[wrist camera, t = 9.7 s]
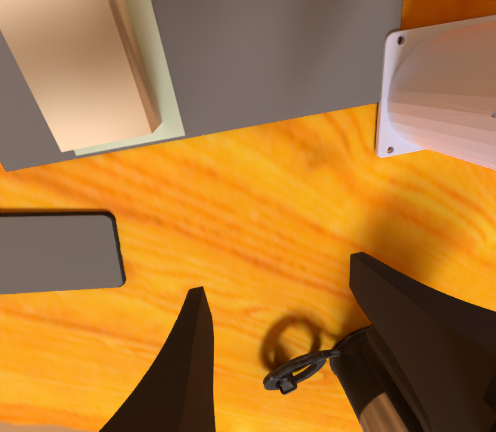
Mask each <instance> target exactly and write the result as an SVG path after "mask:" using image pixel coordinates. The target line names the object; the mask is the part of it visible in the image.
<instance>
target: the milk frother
mask: <svg viewBox="0 0 496 432" xmlns="http://www.w3.org/2000/svg"><path fill="white" fill-rule="evenodd" d="M330 357H331V359H330V366H331V369H332V371H333V372H334V374H335V375H337V377H338V379H339V381H340V383H341V385H342V387H343V389H344V391H345V393H346V395H347V397H348V399H349V401H350V403H351V406H352V408H353V410H354V412H355V414H356V416H357V418H358V421H359V423H360V424H361V427H362V429H363V432H436V431H435V429H434V427H433V425H432V423H431V421H430V419H429V417H428V415H427V414H426V412H425V410H424V408H423V406H422V404H421V402H420V400H419V398H418V396H417V394H416V393H415V391H414V389H413V387H412V385H411V384H410V382H409V380H408V378H407V376H406V375H405V373H404V371H403V369H402V368H401V366H400V364H399V362H398V361H397V359H396V357H395V356H394V354H393V352H392V351H391V349H390V348H389V346H388V345H387V343H386V342H385V341H384V339H383V338H382V336H381V335H380V334H379V332H378V331H377V329H376V328H375V327H374V325H373V326H371V327H369V328H367V329H363V330H360V331H358V332H355V333H354V334H352V335H350V336H349V337H347V338H346V339H344V340H343V341H342V342H341V343H340V344H339V345H338V346H337V347H336V348H335V350H334V349H331V350H323V351H318V352H313V353H308V354H305V355H302V356H299V357H296V358H294V359H292V360H290V361H288V362H286V363H285V364H283V365H281V366H280V367H278V368H276V369H275V370H273V371H272V372H270V373H269V374H268V375H267V376H266V377H265V378H264V380H263V384H264V387H265V389H266V390H280V391H281V393H282V394H283V395H286V394H288V393H290V392H292V391H294V390H296V389H297V383H299V382H302V381H304V380H306V379H307V378H309V377H311V376H312V375H313V374H315V373H316V372H317V371H319V369H321V368H322V366H323V365H324V364H325V362H326V358H330ZM310 364H312V365H310ZM306 365H310V366H309V367H308V368H307V369H305V370H304V371H302V372H301V373H299V374H297V375H295V376H293V374H292V371H294V370H296V369H298V368H299V367H301V366H306Z"/></svg>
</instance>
